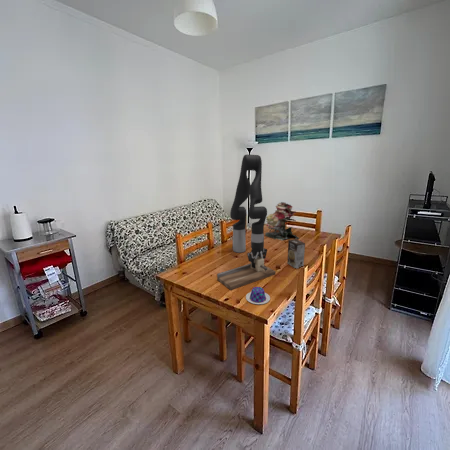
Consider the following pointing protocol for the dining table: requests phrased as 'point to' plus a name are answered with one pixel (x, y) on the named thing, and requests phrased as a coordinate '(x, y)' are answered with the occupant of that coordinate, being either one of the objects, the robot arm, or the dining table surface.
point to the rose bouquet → (280, 222)
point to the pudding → (257, 296)
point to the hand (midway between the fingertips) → (257, 266)
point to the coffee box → (296, 253)
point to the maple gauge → (259, 264)
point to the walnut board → (242, 276)
